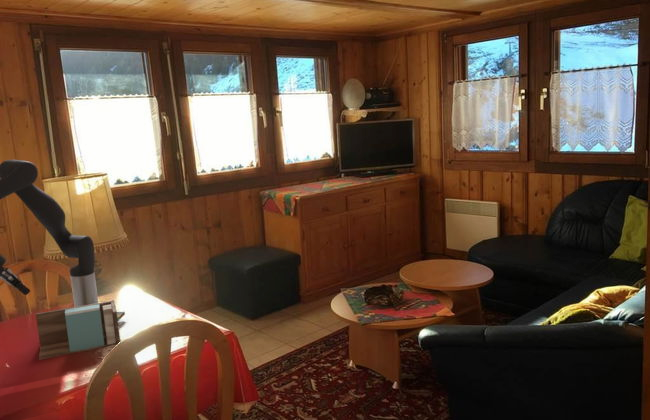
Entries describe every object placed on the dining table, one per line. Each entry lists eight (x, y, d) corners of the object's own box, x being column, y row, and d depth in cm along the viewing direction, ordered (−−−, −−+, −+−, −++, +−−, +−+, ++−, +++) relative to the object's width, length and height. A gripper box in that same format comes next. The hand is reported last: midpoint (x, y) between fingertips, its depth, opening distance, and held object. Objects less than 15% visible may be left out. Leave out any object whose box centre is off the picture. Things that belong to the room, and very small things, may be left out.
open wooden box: (41, 349, 197) (35, 310, 195) (118, 334, 208) (113, 297, 205) (39, 363, 186) (33, 323, 183) (120, 347, 196) (116, 308, 193)
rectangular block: (70, 347, 194) (65, 309, 191) (103, 341, 198) (99, 304, 196) (70, 352, 190) (64, 313, 188) (104, 345, 195) (99, 307, 192)
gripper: (-2, 251, 175) (40, 286, 183) (-8, 248, 185) (32, 282, 193) (-22, 269, 172) (22, 304, 179) (-27, 265, 182) (15, 298, 190)
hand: (27, 292), depth 186 cm, fingers closed
